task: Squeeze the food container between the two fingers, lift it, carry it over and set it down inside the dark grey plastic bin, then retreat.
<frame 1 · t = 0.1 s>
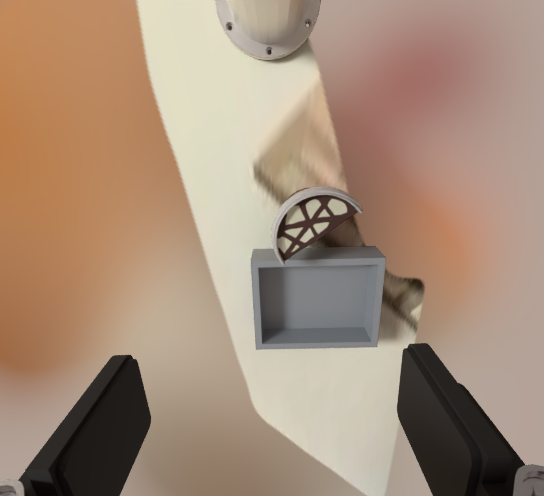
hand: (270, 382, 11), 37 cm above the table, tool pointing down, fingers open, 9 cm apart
bin: (313, 290, 50), on the table
food container: (300, 203, 46), on the table
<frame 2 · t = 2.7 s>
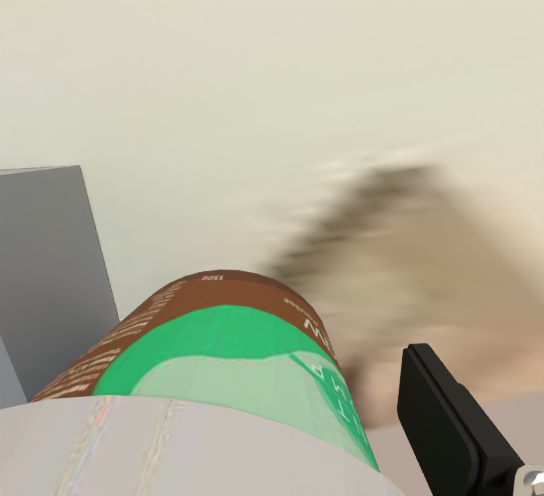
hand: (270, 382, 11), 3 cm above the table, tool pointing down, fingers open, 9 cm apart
food container: (278, 328, 14), on the table, touching gripper
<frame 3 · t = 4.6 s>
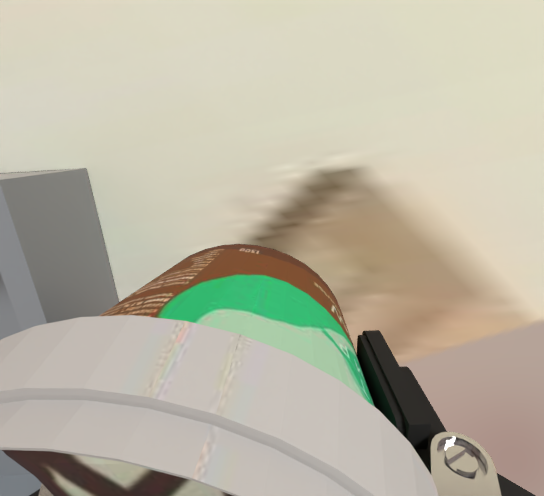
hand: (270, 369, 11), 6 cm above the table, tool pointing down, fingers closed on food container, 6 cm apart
food container: (298, 311, 14), point 2 cm above the table, touching gripper
when the fingers open (5 cm above the table, at t = 10.3 s): food container drops 1 cm, resting on bin.
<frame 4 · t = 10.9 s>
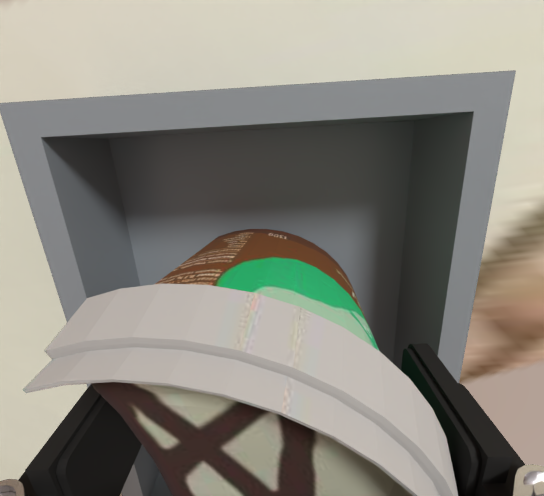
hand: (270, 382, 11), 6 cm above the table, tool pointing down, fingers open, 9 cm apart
bin: (271, 297, 17), on the table
food container: (314, 295, 15), point 1 cm above the table, touching bin
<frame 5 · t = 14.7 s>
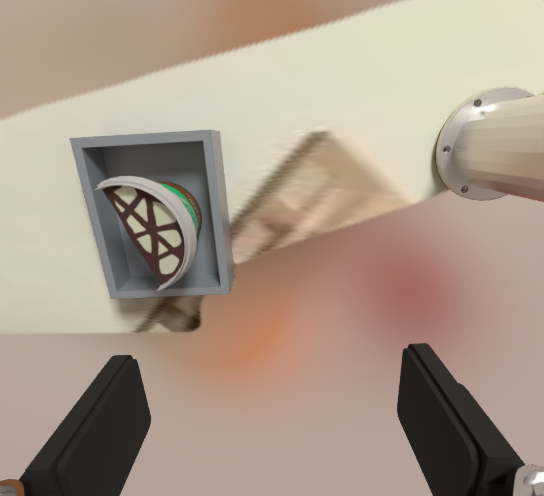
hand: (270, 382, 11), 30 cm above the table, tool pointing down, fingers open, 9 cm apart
bin: (170, 212, 40), on the table
food container: (185, 208, 39), point 1 cm above the table, touching bin
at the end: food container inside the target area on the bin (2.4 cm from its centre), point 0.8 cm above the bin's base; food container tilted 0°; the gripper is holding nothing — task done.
